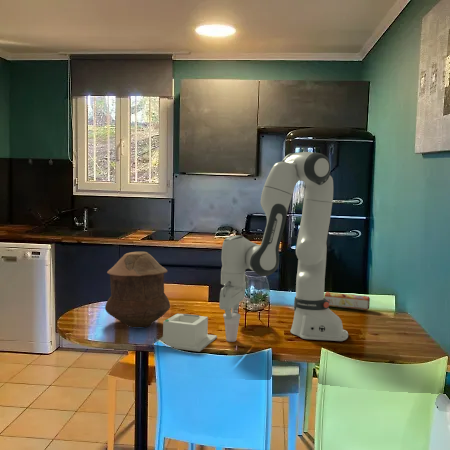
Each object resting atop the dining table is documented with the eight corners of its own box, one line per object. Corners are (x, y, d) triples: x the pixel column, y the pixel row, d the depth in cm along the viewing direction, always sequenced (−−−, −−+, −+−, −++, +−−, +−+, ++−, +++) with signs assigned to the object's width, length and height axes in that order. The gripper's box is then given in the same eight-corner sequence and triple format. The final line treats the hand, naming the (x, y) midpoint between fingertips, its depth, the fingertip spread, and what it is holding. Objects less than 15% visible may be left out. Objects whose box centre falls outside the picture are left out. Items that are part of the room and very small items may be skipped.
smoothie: (225, 343, 190) (226, 305, 189) (220, 338, 196) (221, 301, 195) (242, 342, 192) (243, 304, 191) (237, 337, 198) (238, 300, 197)
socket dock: (216, 337, 197) (217, 314, 196) (199, 351, 180) (200, 326, 179) (173, 332, 202) (173, 310, 202) (152, 345, 185) (152, 321, 185)
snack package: (368, 311, 245) (369, 307, 251) (369, 298, 244) (370, 294, 250) (323, 307, 251) (325, 303, 258) (323, 294, 250) (325, 290, 257)
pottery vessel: (178, 332, 203) (180, 255, 201) (112, 338, 192) (113, 257, 190) (159, 316, 226) (160, 247, 224) (99, 321, 216) (99, 249, 214)
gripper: (232, 285, 181) (231, 324, 182) (248, 275, 201) (247, 311, 202) (215, 283, 183) (214, 322, 184) (232, 274, 203) (231, 309, 204)
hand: (231, 316), depth 193 cm, fingers closed on smoothie, 6 cm apart
